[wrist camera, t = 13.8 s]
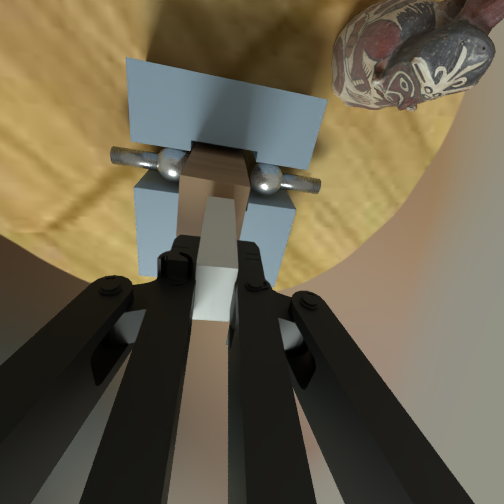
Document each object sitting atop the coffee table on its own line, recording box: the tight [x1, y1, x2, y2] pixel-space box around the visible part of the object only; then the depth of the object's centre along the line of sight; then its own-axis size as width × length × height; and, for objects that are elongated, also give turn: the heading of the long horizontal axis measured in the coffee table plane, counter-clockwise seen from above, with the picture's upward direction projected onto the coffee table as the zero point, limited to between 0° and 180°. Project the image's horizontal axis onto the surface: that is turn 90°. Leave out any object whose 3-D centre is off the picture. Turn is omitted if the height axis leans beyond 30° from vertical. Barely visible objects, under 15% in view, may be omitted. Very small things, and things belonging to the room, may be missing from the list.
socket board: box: [126, 57, 328, 287], centre depth 25 cm, size 18×14×5 cm
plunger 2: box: [250, 163, 321, 195], centre depth 25 cm, size 3×6×3 cm, turn 80°
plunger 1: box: [110, 146, 190, 182], centre depth 23 cm, size 3×6×3 cm, turn 80°
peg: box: [176, 141, 250, 240], centre depth 21 cm, size 4×4×12 cm
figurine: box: [332, 0, 504, 111], centre depth 18 cm, size 7×7×12 cm
